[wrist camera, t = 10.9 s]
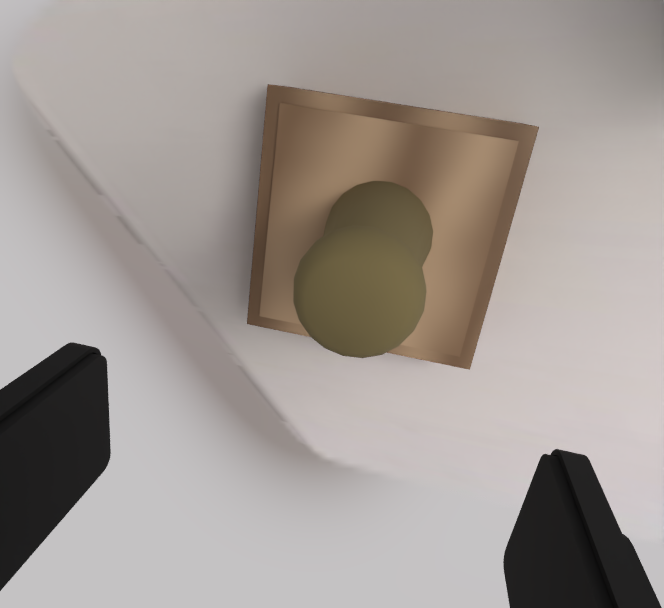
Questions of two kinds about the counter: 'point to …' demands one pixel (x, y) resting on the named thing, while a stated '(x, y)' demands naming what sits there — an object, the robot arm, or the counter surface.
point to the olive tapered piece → (366, 271)
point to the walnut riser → (400, 168)
